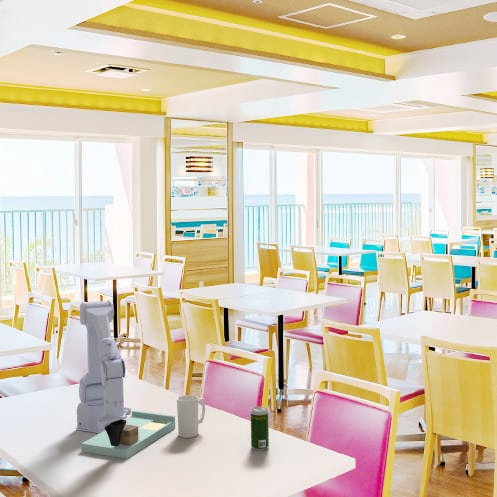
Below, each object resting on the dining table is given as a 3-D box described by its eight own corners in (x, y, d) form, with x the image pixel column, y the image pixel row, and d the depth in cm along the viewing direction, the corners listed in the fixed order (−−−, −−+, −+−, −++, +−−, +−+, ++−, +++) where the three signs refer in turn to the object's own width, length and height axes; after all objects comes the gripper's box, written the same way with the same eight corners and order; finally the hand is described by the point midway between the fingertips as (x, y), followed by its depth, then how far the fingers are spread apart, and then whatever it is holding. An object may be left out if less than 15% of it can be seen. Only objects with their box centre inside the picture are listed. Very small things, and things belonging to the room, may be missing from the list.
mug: (185, 440, 223) (184, 402, 222) (173, 434, 228) (172, 397, 227) (211, 432, 229) (210, 396, 228) (199, 427, 235) (198, 391, 234)
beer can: (272, 449, 214) (271, 410, 213) (256, 452, 212) (255, 412, 211) (263, 443, 219) (263, 405, 218) (248, 446, 217) (247, 408, 216)
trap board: (81, 451, 214) (81, 438, 214) (133, 422, 241) (133, 410, 241) (126, 458, 208) (126, 445, 208) (175, 427, 235) (174, 415, 234)
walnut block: (117, 443, 214) (117, 429, 213) (125, 438, 218) (125, 424, 217) (130, 445, 212) (129, 430, 211) (138, 440, 216) (138, 426, 216)
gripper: (111, 408, 200) (112, 455, 201) (138, 394, 213) (140, 438, 214) (90, 406, 203) (91, 452, 204) (118, 392, 216) (120, 436, 217)
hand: (115, 445), depth 209 cm, fingers closed
